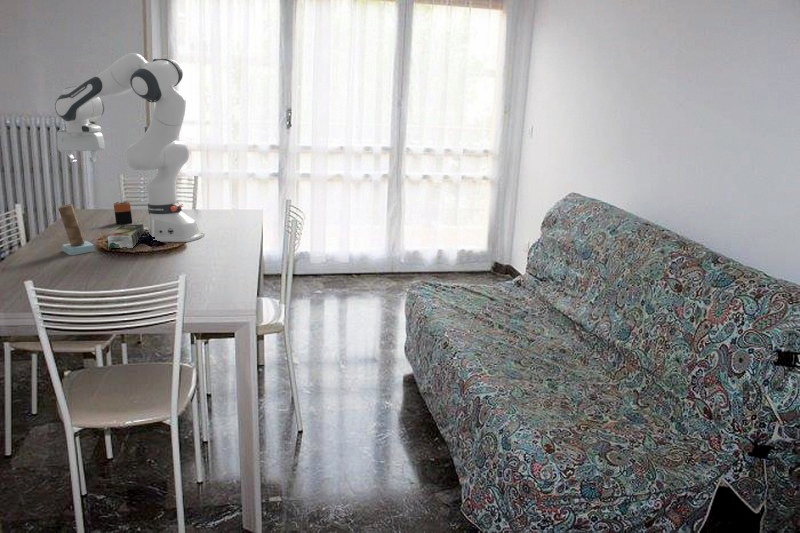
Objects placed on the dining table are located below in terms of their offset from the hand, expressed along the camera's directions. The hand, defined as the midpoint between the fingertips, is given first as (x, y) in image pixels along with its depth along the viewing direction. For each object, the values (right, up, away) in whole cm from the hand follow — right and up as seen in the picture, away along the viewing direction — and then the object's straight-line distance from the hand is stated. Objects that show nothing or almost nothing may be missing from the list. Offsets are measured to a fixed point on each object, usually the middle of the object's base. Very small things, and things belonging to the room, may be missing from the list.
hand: (83, 162), depth 284 cm
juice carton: (+22, -34, -10) cm, 42 cm away
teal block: (+8, -38, -20) cm, 44 cm away
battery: (+6, -24, +27) cm, 36 cm away
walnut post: (+8, -34, -21) cm, 41 cm away
